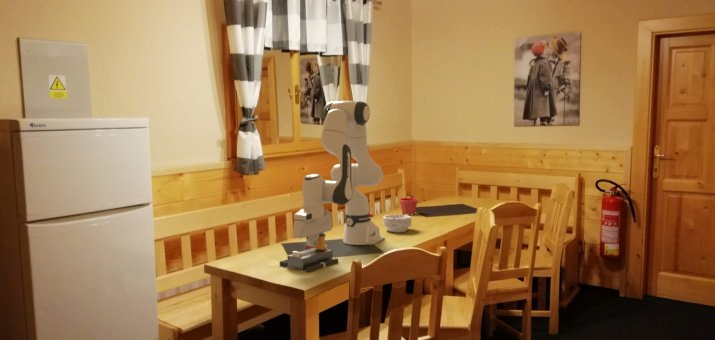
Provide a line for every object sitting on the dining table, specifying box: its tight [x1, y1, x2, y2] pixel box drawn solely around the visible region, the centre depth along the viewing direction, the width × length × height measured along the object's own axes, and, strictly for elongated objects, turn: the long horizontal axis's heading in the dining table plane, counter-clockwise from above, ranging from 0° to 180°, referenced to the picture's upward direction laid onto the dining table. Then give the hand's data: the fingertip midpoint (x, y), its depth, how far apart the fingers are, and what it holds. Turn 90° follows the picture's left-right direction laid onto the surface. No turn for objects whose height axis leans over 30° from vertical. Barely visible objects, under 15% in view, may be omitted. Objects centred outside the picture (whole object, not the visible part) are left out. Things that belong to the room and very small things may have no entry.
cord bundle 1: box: [279, 258, 288, 268], centre depth 236 cm, size 18×4×2 cm, turn 141°
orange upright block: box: [315, 233, 326, 250], centre depth 235 cm, size 2×5×6 cm, turn 51°
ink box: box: [305, 232, 325, 250], centre depth 255 cm, size 8×5×12 cm, turn 152°
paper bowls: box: [382, 214, 412, 233], centre depth 295 cm, size 15×15×8 cm
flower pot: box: [399, 197, 418, 215], centre depth 341 cm, size 11×11×10 cm
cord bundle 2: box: [305, 258, 339, 273], centre depth 227 cm, size 18×2×2 cm, turn 141°
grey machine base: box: [286, 244, 333, 272], centre depth 231 cm, size 18×9×7 cm, turn 141°
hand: (313, 244), depth 232 cm, fingers closed
